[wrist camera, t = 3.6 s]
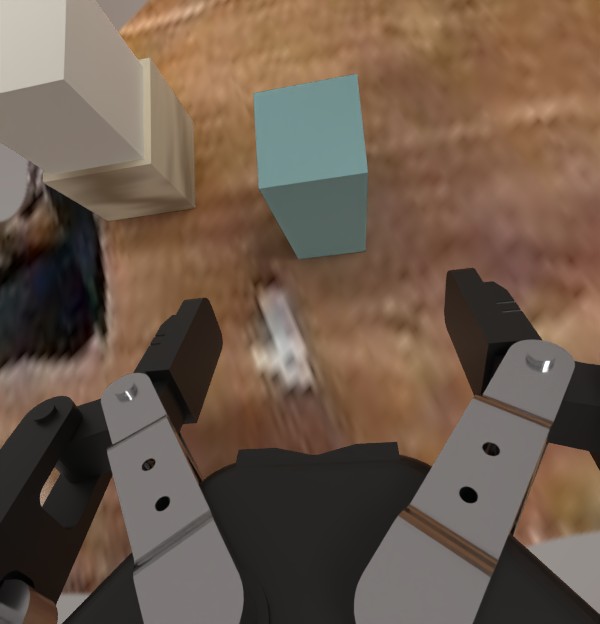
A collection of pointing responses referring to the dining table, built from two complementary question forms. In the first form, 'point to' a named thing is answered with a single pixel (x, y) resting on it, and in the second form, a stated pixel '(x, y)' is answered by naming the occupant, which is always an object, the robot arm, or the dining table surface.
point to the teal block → (314, 164)
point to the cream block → (68, 86)
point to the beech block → (142, 163)
